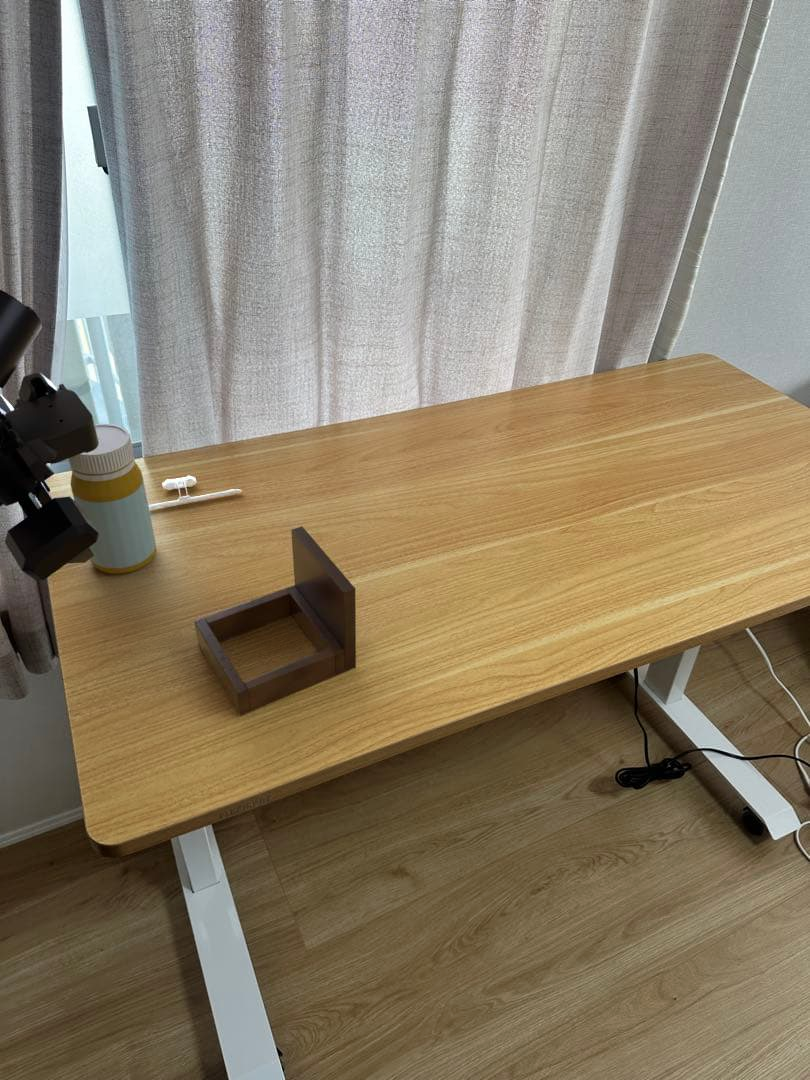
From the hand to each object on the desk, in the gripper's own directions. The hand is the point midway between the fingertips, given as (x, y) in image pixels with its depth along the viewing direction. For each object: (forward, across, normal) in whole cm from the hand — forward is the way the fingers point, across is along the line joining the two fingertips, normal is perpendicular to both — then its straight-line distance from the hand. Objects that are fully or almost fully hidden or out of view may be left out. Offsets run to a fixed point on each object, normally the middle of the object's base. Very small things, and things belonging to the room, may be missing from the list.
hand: (66, 524), depth 76 cm
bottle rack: (+10, -19, -7) cm, 23 cm away
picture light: (+20, +9, -10) cm, 24 cm away
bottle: (+14, +3, -1) cm, 14 cm away
